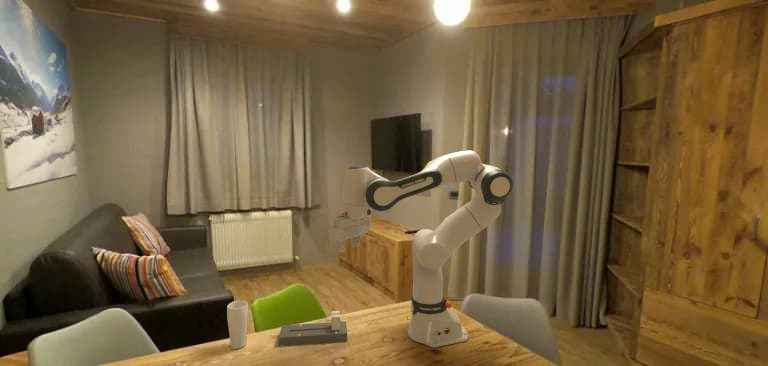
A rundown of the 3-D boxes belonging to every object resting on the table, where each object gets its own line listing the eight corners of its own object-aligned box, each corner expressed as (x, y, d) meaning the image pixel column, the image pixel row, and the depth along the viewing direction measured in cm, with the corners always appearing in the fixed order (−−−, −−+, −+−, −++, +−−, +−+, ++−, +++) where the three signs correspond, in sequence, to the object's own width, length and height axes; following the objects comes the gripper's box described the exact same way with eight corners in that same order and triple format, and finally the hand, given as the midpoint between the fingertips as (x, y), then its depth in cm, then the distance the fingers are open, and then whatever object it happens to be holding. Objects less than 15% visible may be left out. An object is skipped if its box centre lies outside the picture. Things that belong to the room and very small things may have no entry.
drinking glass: (241, 352, 123) (240, 309, 122) (223, 349, 124) (222, 307, 123) (252, 341, 130) (251, 301, 128) (235, 339, 131) (234, 299, 130)
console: (345, 328, 140) (345, 321, 140) (347, 341, 131) (347, 332, 131) (282, 332, 136) (281, 325, 136) (278, 345, 127) (278, 337, 127)
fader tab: (339, 323, 137) (339, 310, 137) (340, 329, 132) (340, 316, 132) (331, 323, 137) (331, 310, 136) (331, 330, 132) (331, 317, 131)
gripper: (343, 216, 117) (339, 257, 119) (374, 209, 135) (370, 245, 137) (328, 212, 120) (324, 253, 121) (360, 206, 138) (356, 241, 139)
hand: (349, 248), depth 129 cm, fingers open, 8 cm apart
